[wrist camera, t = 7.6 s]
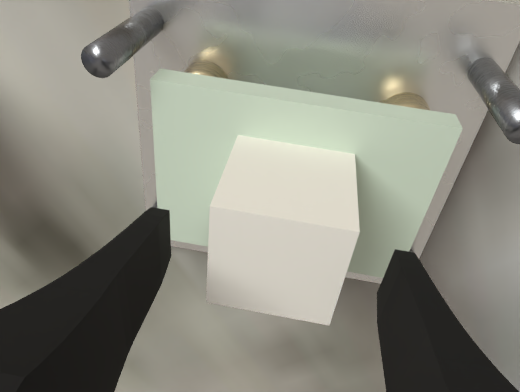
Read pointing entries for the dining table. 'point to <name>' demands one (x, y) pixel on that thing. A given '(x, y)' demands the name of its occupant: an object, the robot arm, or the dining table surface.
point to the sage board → (305, 119)
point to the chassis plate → (330, 61)
